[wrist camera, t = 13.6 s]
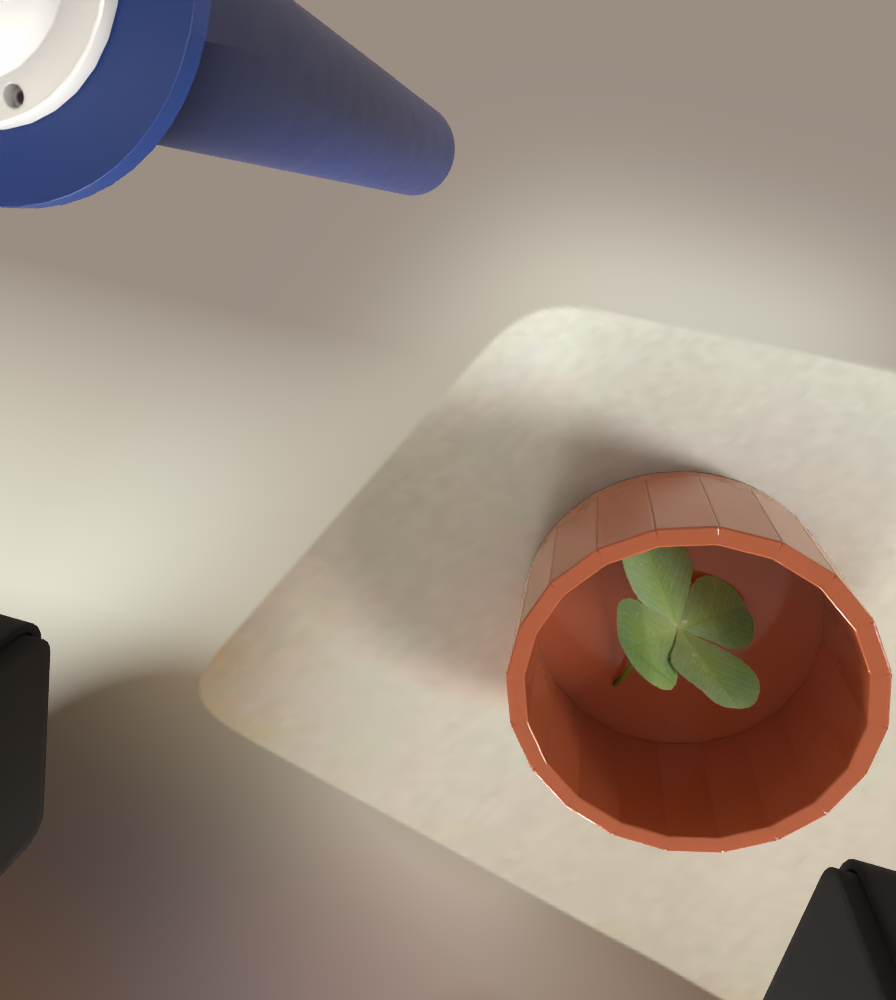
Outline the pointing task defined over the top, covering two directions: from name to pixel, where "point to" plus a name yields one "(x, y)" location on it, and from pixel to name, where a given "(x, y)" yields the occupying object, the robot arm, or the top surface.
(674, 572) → the green leafy piece
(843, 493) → the top surface
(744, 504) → the planter
